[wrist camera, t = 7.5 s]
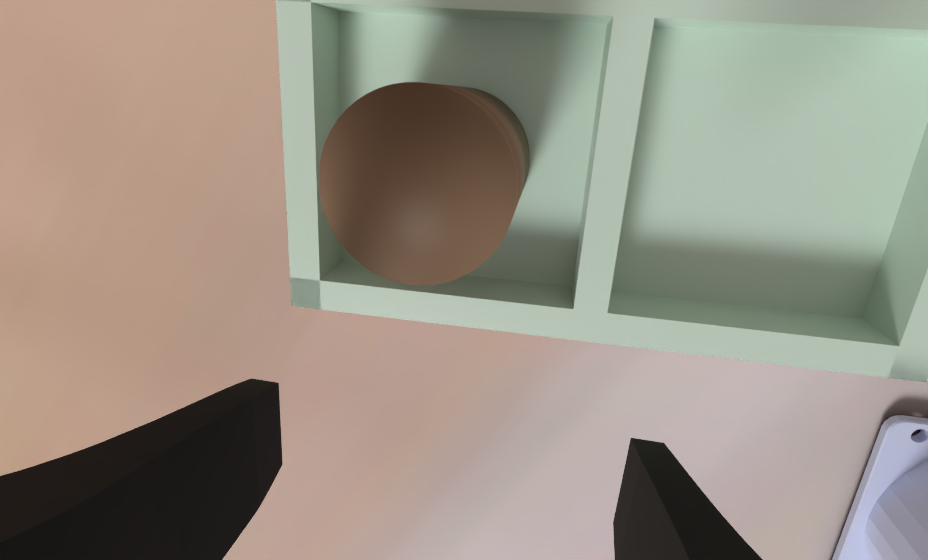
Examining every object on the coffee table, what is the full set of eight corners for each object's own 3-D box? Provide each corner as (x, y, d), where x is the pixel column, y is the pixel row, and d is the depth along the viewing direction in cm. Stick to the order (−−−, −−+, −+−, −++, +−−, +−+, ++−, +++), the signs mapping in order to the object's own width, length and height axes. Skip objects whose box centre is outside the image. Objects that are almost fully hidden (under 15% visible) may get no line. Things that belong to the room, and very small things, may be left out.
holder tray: (989, 4, 15) (1081, -14, 12) (873, 339, 18) (926, 382, 16) (316, -23, 17) (274, -42, 15) (325, 278, 21) (291, 305, 18)
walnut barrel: (537, 91, 17) (526, 89, 11) (522, 234, 18) (506, 296, 12) (395, 82, 17) (316, 74, 12) (392, 220, 19) (319, 274, 13)
